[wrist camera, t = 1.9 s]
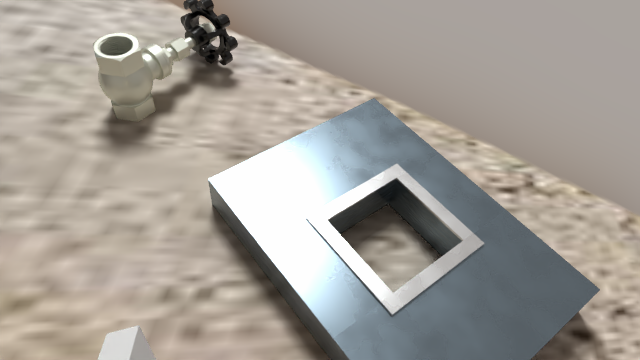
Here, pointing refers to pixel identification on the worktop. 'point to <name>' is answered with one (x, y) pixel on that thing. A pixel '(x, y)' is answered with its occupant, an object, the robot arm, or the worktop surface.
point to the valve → (156, 59)
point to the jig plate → (425, 217)
